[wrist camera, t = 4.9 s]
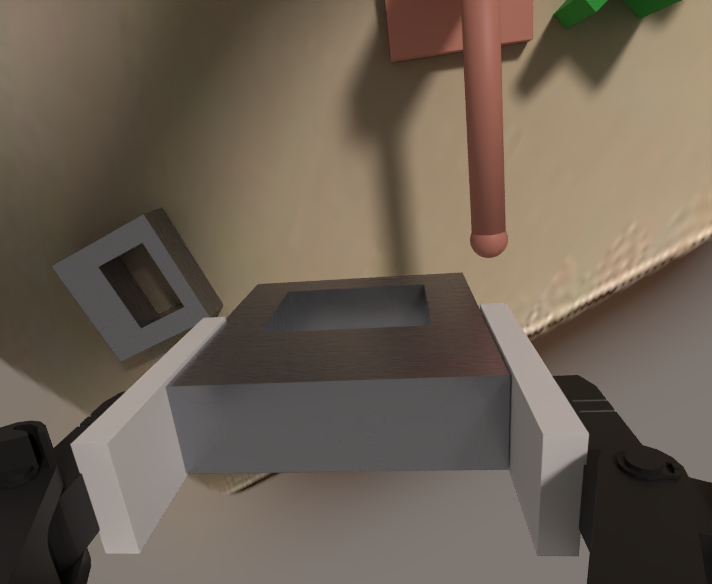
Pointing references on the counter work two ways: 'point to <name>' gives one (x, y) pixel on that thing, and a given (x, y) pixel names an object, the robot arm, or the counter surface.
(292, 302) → the link
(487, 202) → the hook
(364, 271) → the counter surface
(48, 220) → the counter surface
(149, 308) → the link
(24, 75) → the counter surface
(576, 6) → the pipe clamp
